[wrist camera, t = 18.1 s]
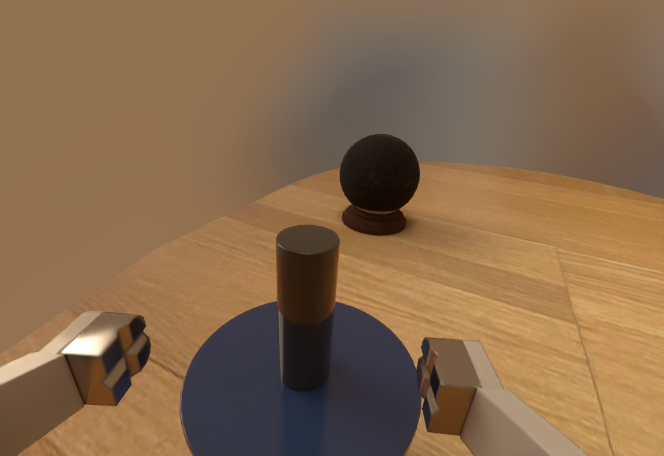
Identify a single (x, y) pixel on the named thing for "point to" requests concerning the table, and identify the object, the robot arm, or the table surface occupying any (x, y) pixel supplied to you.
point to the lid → (301, 370)
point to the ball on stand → (378, 184)
